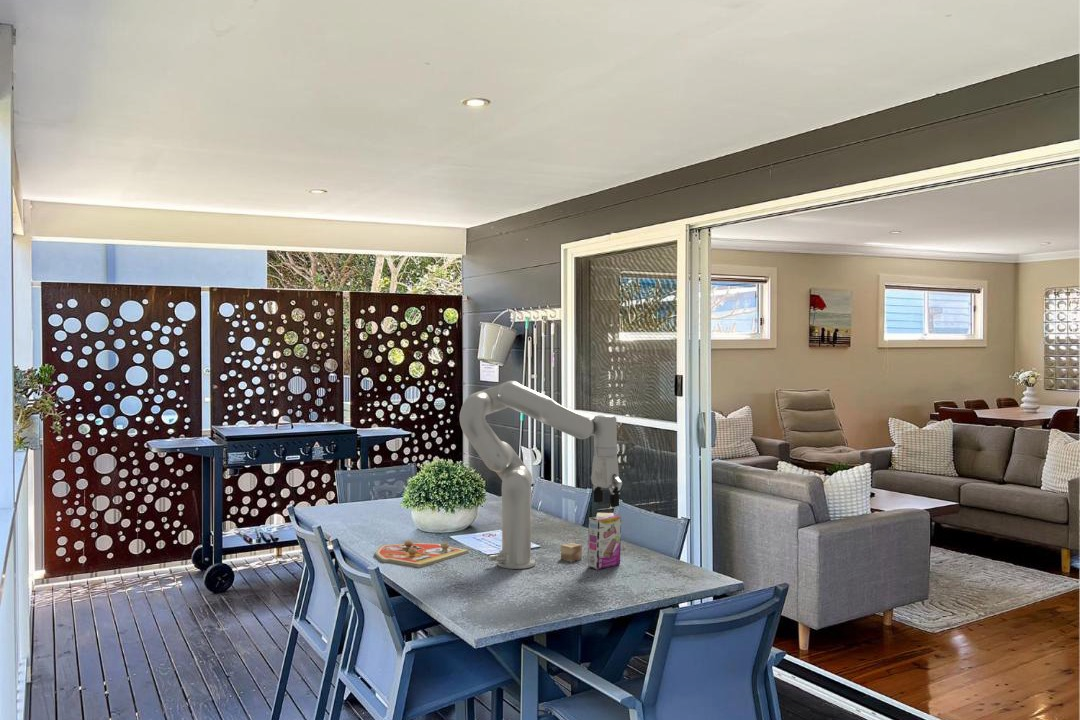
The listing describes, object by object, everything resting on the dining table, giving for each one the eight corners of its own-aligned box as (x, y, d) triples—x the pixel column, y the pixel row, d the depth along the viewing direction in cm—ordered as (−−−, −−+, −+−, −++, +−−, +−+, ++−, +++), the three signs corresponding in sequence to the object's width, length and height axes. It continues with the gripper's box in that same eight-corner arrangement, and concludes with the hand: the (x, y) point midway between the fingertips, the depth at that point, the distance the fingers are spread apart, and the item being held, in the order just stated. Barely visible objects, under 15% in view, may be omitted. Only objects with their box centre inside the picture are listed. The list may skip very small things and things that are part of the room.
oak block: (571, 562, 289) (571, 547, 289) (560, 559, 292) (560, 544, 292) (581, 559, 292) (581, 545, 292) (571, 557, 296) (571, 542, 296)
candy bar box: (598, 570, 278) (598, 519, 277) (587, 567, 281) (587, 517, 281) (621, 564, 285) (621, 515, 285) (610, 561, 289) (610, 513, 289)
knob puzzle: (417, 570, 278) (417, 556, 278) (352, 558, 294) (352, 545, 294) (472, 552, 303) (472, 540, 303) (409, 542, 319) (409, 530, 319)
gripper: (582, 450, 289) (582, 501, 289) (610, 455, 273) (611, 509, 274) (600, 449, 292) (601, 499, 292) (630, 454, 277) (630, 507, 277)
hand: (606, 504), depth 283 cm, fingers open, 9 cm apart
